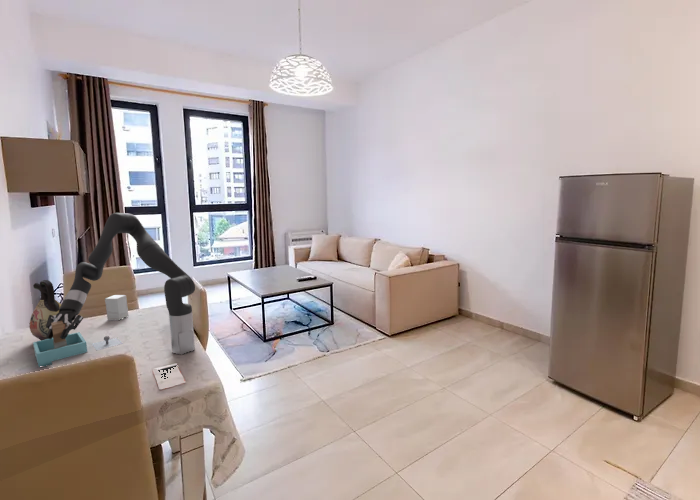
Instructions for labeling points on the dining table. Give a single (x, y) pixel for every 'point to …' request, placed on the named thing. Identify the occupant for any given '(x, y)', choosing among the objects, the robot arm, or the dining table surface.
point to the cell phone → (166, 368)
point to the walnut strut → (58, 334)
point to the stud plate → (107, 343)
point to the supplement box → (116, 307)
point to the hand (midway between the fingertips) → (55, 338)
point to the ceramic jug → (43, 310)
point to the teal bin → (59, 349)
